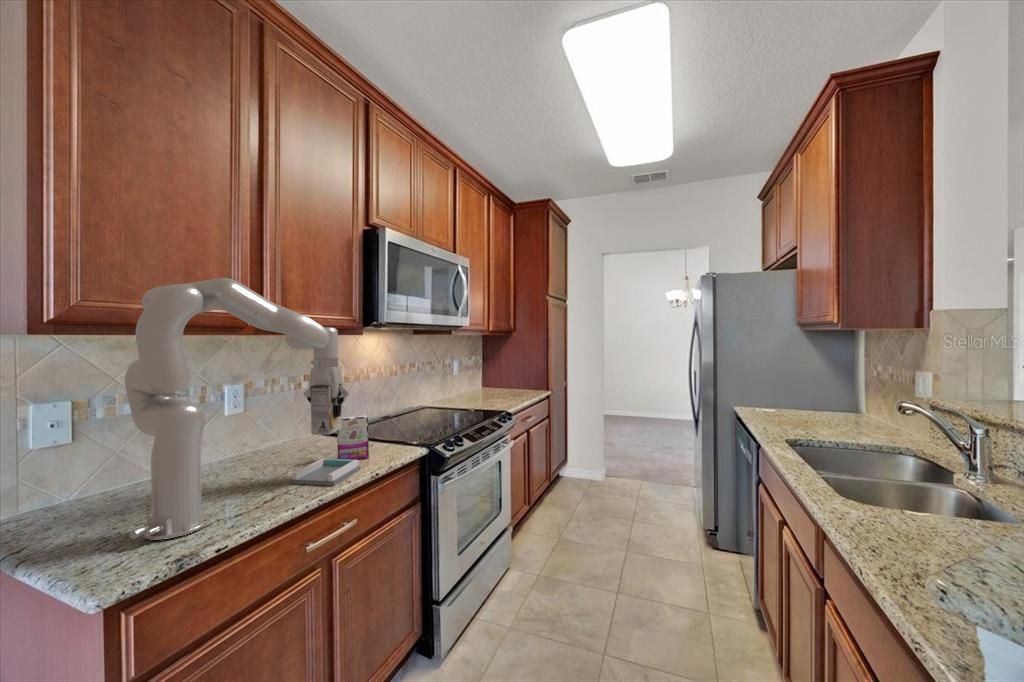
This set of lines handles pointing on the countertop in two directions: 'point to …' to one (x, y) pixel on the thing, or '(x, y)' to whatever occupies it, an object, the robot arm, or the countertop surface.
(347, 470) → the tray
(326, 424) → the coffee box
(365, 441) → the candy bar box
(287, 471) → the countertop surface
